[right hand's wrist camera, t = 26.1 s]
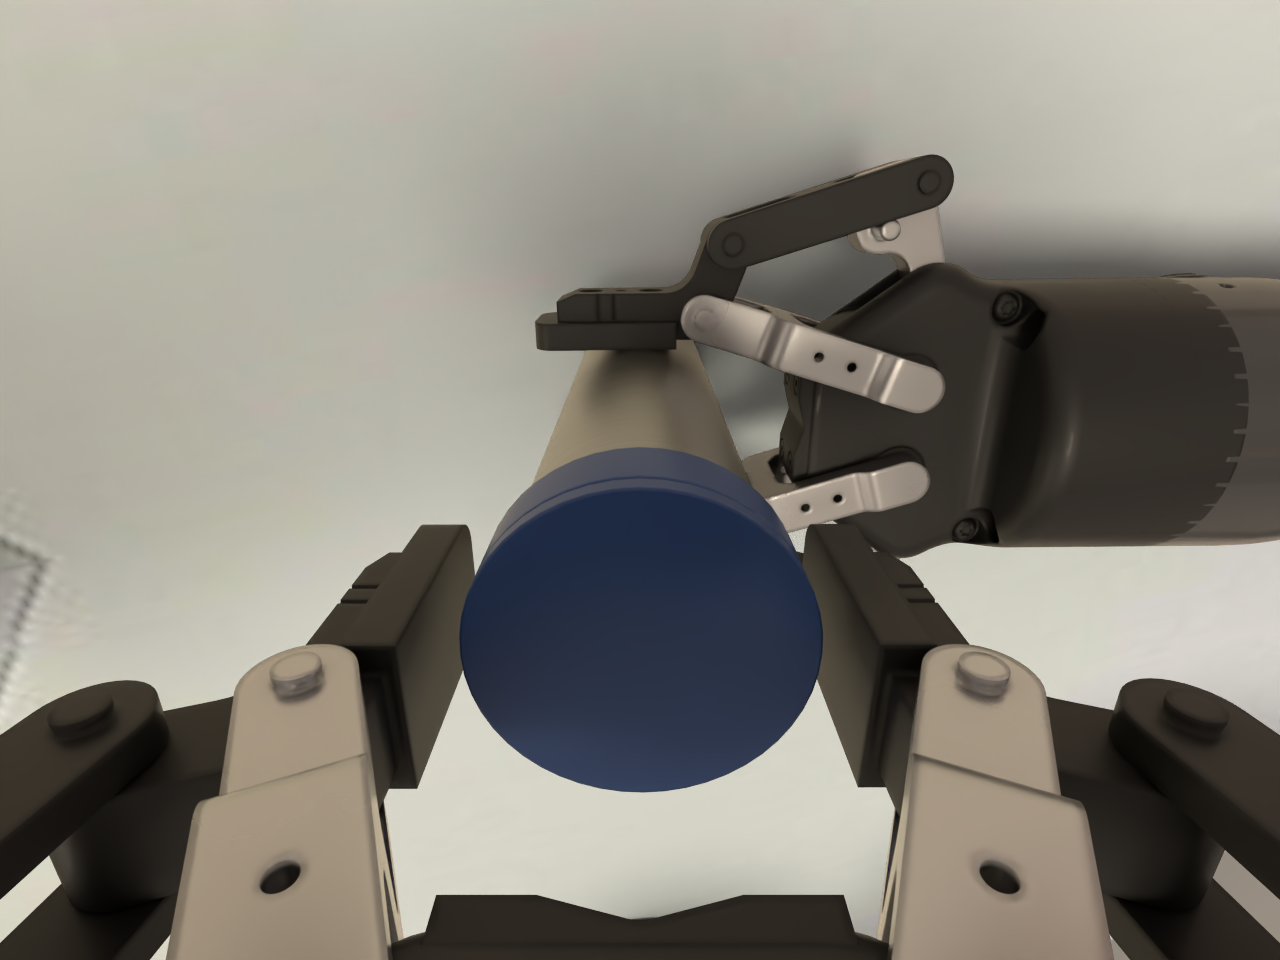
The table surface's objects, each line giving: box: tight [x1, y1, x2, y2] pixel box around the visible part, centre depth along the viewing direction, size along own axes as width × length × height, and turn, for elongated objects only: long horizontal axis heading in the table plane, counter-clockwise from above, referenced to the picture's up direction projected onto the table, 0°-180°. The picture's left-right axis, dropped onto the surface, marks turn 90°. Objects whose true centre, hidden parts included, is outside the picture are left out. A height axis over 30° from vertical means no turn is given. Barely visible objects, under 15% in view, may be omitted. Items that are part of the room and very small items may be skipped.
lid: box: [459, 447, 823, 792], centre depth 10 cm, size 5×5×2 cm
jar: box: [532, 340, 751, 486], centre depth 18 cm, size 4×4×17 cm
